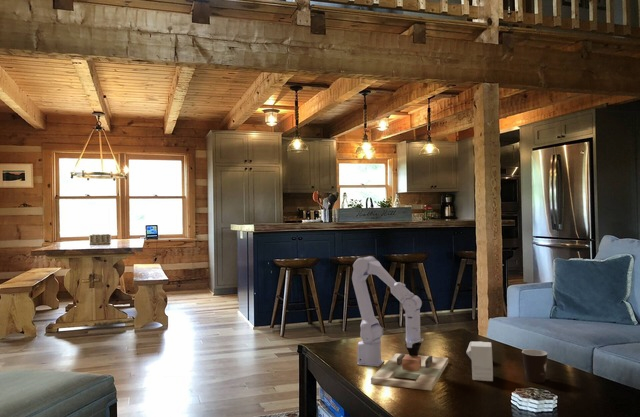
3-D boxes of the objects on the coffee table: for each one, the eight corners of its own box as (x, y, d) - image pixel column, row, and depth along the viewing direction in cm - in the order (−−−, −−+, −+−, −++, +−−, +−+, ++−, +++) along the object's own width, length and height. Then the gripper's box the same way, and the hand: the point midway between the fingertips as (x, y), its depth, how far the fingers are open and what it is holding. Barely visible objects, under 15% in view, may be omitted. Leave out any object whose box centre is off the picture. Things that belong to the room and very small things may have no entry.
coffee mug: (537, 385, 177) (536, 356, 177) (517, 378, 185) (516, 351, 185) (559, 379, 182) (558, 352, 182) (539, 373, 190) (538, 347, 190)
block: (402, 369, 192) (402, 358, 192) (406, 365, 198) (405, 354, 198) (417, 371, 190) (417, 360, 190) (421, 366, 195) (420, 356, 195)
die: (485, 366, 202) (494, 345, 205) (466, 355, 204) (475, 334, 207) (479, 368, 210) (488, 347, 213) (460, 357, 211) (469, 337, 214)
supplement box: (493, 375, 189) (492, 341, 189) (493, 381, 182) (492, 346, 182) (472, 374, 191) (471, 340, 191) (471, 380, 184) (470, 345, 184)
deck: (371, 383, 183) (370, 371, 183) (395, 358, 215) (395, 347, 215) (431, 390, 174) (431, 377, 174) (448, 362, 206) (447, 351, 206)
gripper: (419, 331, 190) (420, 367, 190) (426, 324, 203) (427, 357, 203) (400, 330, 193) (401, 366, 192) (409, 322, 206) (410, 356, 206)
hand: (413, 361), depth 198 cm, fingers closed
